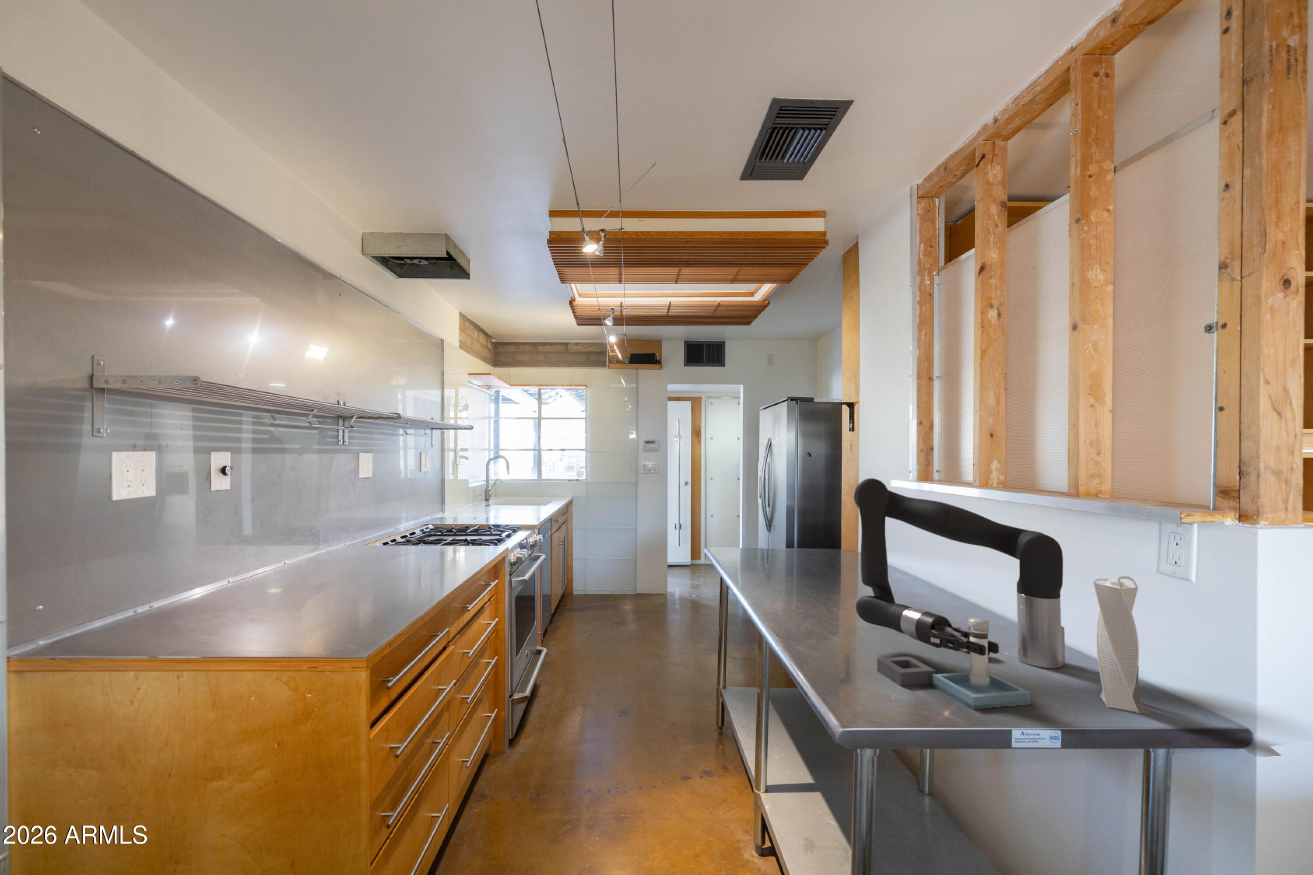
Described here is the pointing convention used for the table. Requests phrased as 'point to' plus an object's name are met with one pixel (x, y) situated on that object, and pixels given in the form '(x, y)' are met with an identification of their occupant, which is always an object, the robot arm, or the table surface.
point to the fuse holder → (905, 671)
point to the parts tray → (981, 691)
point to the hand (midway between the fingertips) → (991, 649)
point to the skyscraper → (1118, 645)
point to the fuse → (978, 662)
